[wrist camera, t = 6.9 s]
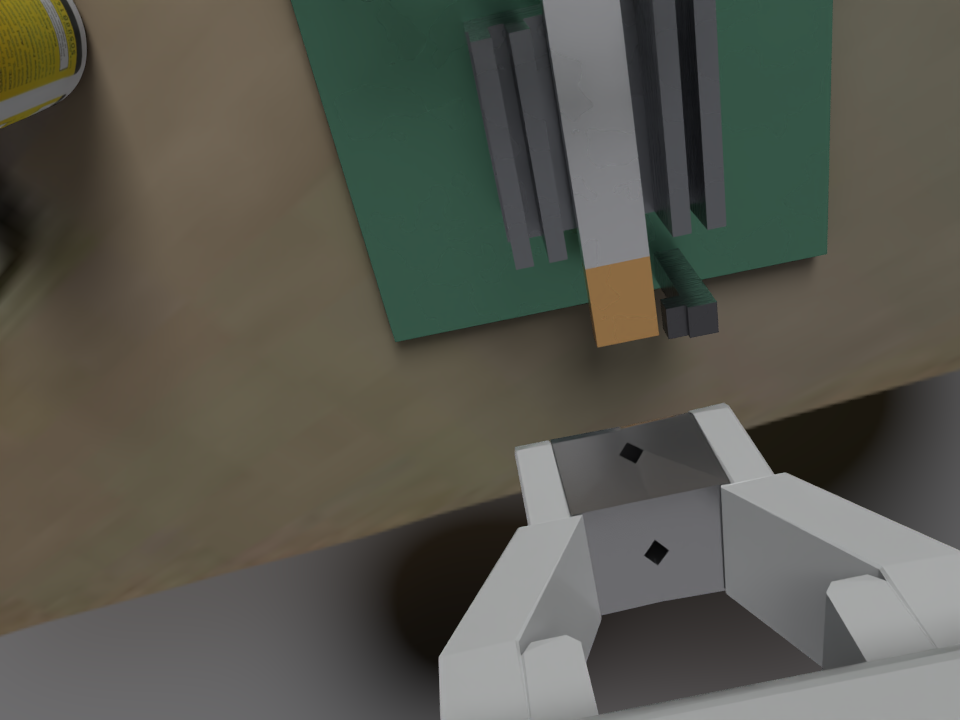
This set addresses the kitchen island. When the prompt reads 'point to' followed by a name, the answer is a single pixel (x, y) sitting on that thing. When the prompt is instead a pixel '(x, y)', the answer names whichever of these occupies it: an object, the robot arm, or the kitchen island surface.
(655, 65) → the circuit board
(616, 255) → the white strip
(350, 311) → the kitchen island surface
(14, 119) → the supplement bottle
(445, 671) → the robot arm
